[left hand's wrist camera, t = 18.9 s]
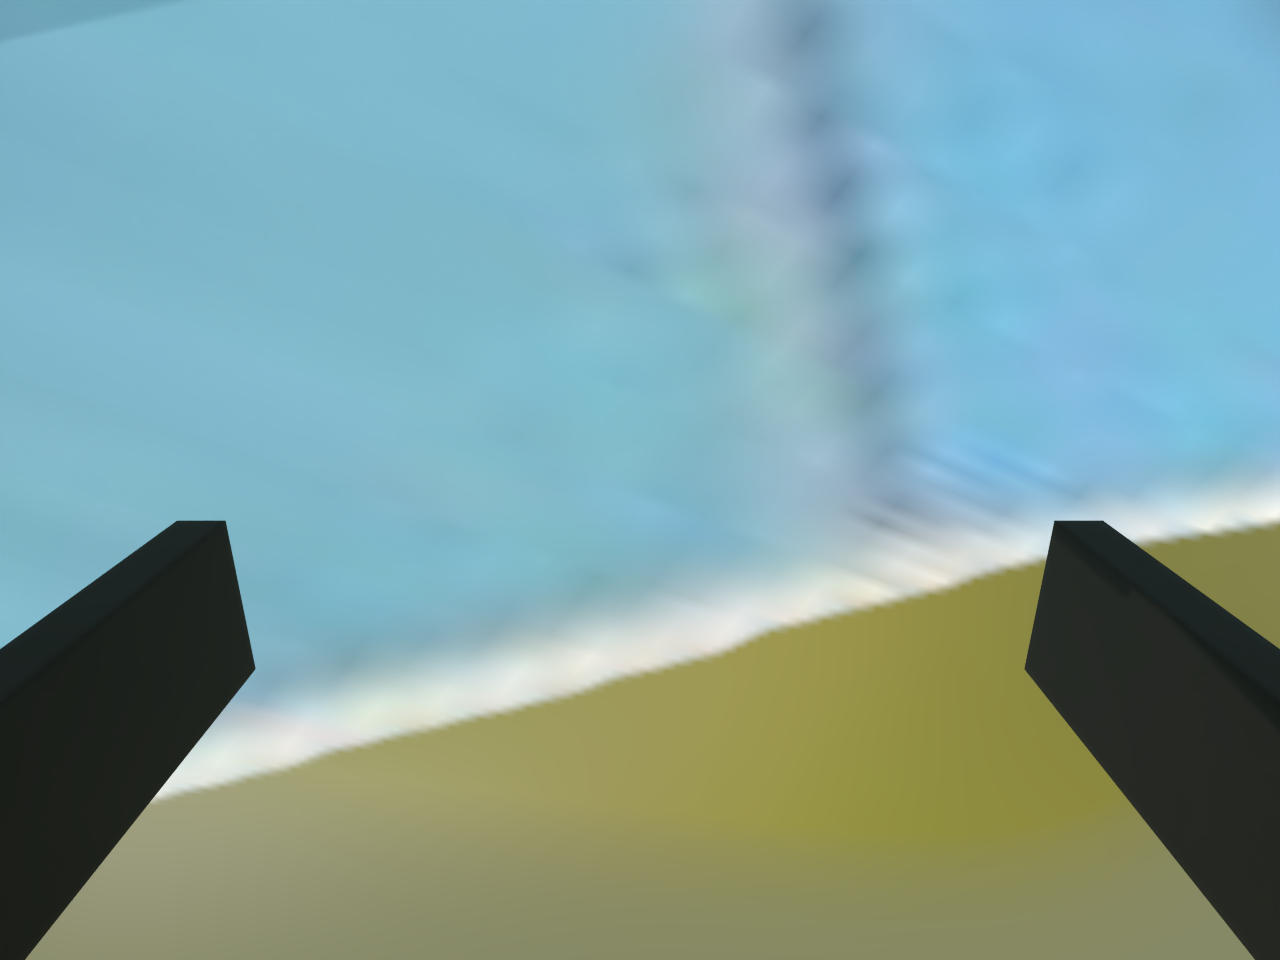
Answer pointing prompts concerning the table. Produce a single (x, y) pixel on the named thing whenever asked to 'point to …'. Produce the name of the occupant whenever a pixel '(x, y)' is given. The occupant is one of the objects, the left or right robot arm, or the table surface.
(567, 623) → the table surface
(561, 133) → the table surface
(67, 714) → the left robot arm
